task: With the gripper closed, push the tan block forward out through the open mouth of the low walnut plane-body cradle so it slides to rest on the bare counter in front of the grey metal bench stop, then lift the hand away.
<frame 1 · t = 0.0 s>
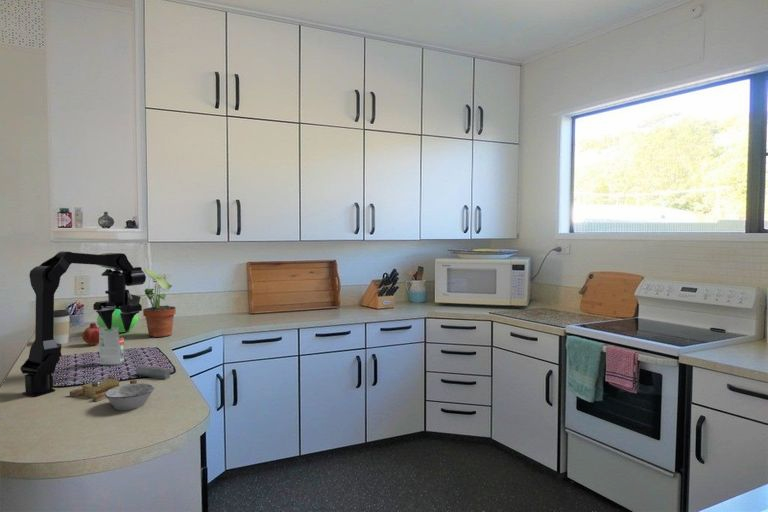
hand: (118, 330, 183), 15 cm above the countertop, fingers open, 9 cm apart
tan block: (101, 393, 158), on the countertop
potted plant: (160, 336, 242), on the countertop
bench stop: (152, 376, 176), on the countertop
ink box: (112, 364, 192), on the countertop
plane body: (104, 391, 159), on the countertop
coffee cup: (59, 343, 228), on the countertop
bowl: (130, 406, 147), on the countertop
fruit: (93, 345, 224), on the countertop
toy bird: (118, 333, 250), on the countertop
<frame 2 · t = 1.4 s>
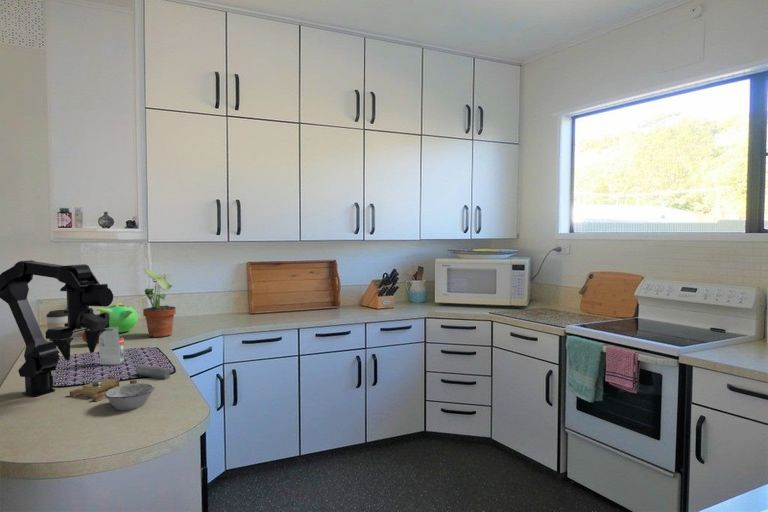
hand: (80, 356, 154), 12 cm above the countertop, fingers open, 9 cm apart
nothing on the countertop moved.
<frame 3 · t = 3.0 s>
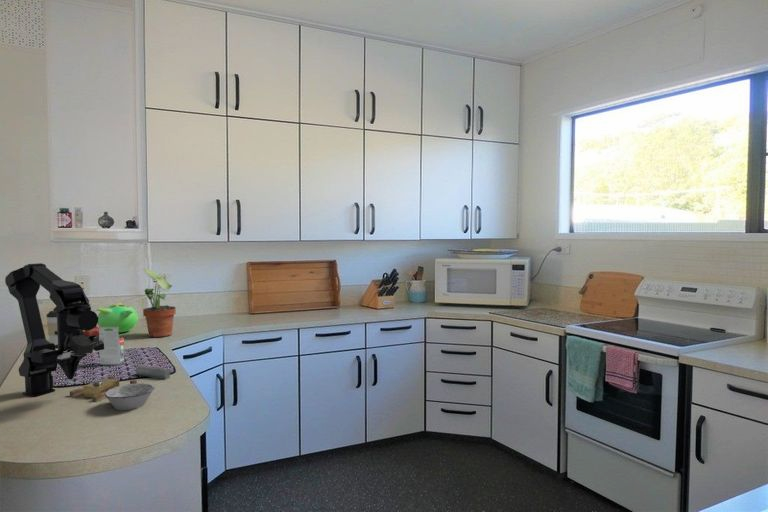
hand: (70, 379, 149), 7 cm above the countertop, fingers closed
nothing on the countertop moved.
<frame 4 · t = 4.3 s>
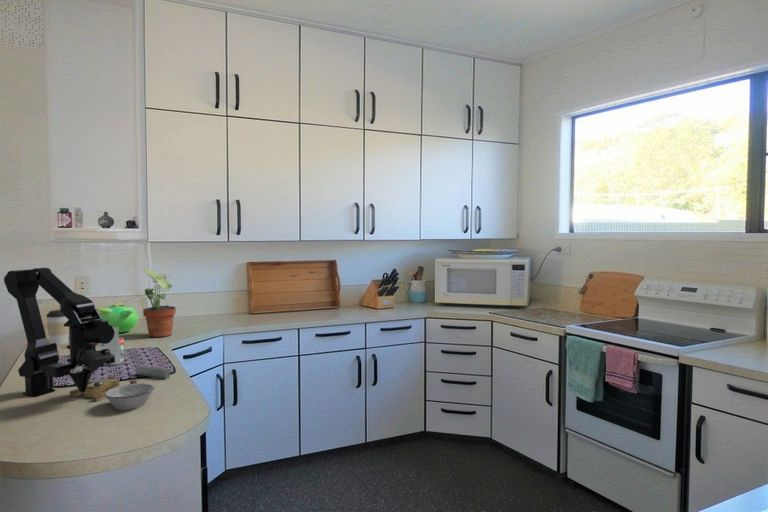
hand: (82, 392, 152), 2 cm above the countertop, fingers closed
nothing on the countertop moved.
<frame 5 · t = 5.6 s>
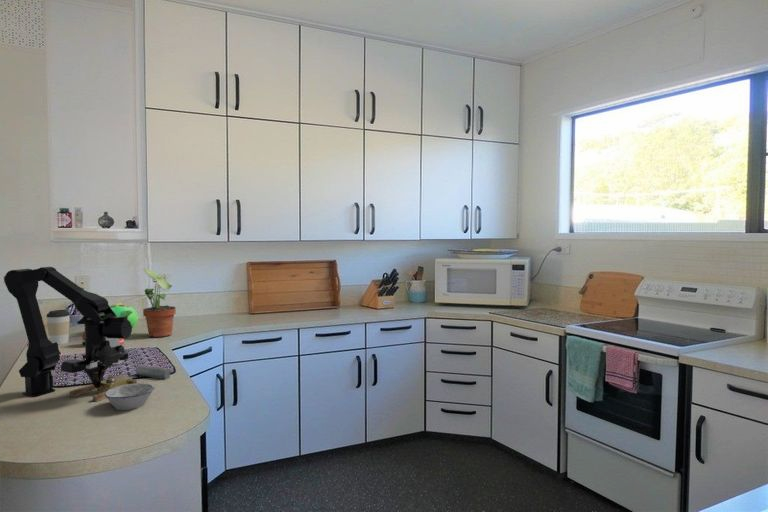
hand: (97, 387, 157), 2 cm above the countertop, fingers closed
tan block: (115, 390, 161), on the countertop, touching gripper
everything else where it was.
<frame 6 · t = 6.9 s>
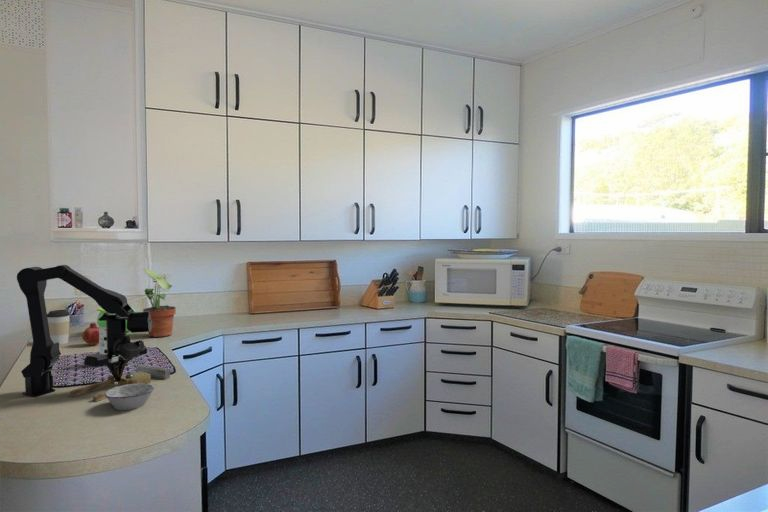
hand: (117, 381, 163), 2 cm above the countertop, fingers closed
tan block: (134, 386, 167), on the countertop
everything else where it was.
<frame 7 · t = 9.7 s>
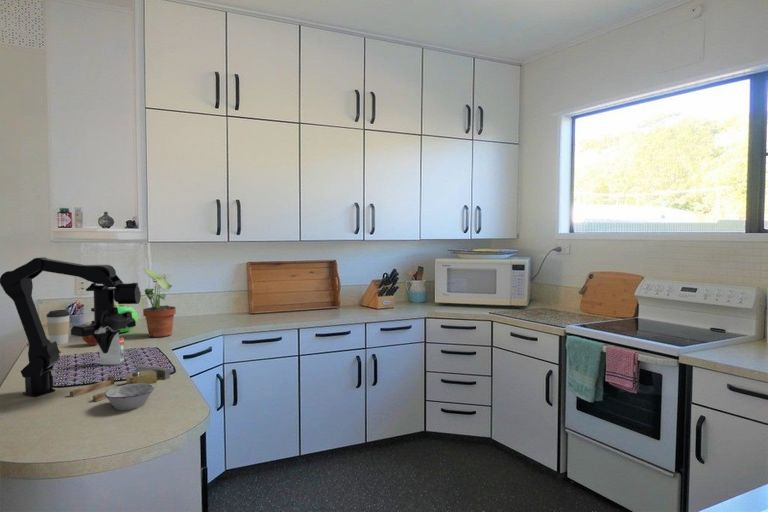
hand: (105, 352, 161), 12 cm above the countertop, fingers closed
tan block: (141, 383, 168), on the countertop
everything else where it was.
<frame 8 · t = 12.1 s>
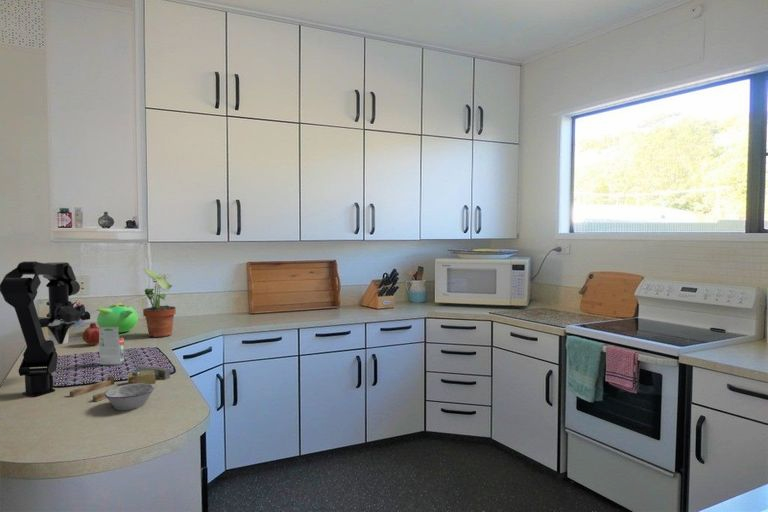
hand: (60, 343, 173), 12 cm above the countertop, fingers closed
nothing on the countertop moved.
at the end: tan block inside the target area (3.0 cm from its centre), on the countertop; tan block moved 12.8 cm from its start; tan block tilted 0° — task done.
